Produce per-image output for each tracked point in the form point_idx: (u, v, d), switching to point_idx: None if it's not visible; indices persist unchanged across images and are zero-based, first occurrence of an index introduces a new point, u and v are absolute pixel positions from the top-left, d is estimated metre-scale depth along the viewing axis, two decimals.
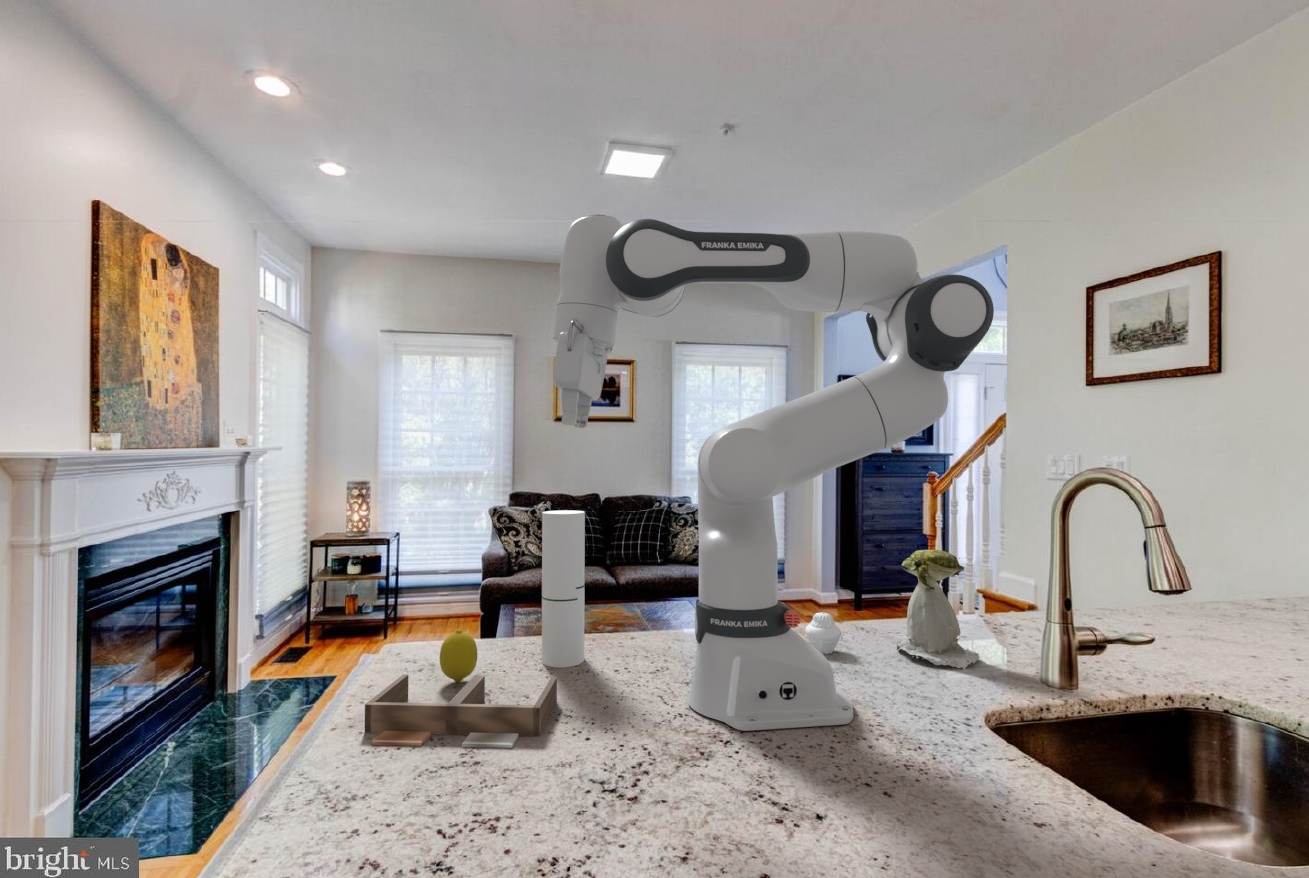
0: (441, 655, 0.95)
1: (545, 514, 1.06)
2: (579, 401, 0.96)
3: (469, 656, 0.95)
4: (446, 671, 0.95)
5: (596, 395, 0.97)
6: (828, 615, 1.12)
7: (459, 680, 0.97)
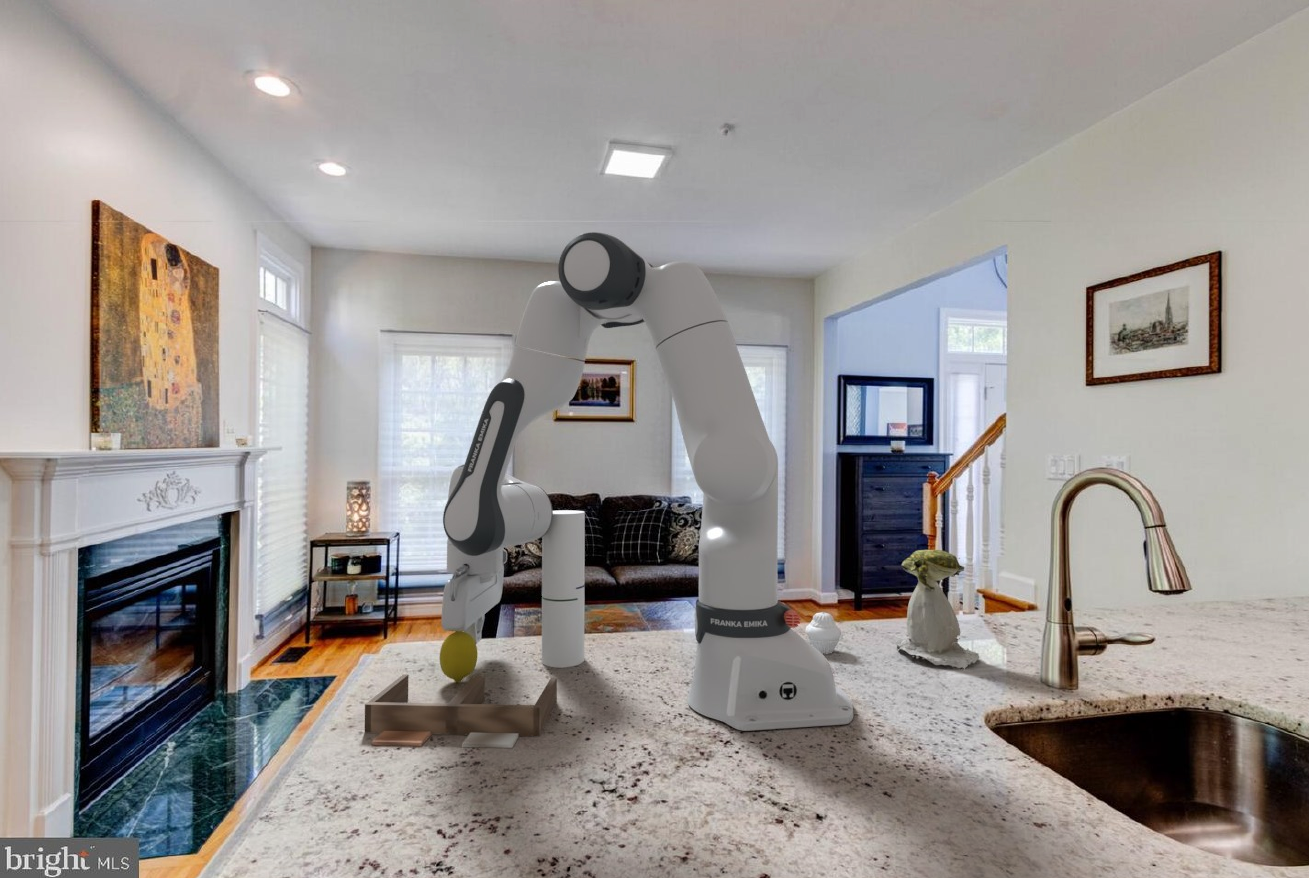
0: (441, 655, 0.95)
1: None
2: None
3: (469, 656, 0.95)
4: (446, 671, 0.95)
5: (494, 603, 1.11)
6: (828, 615, 1.12)
7: (459, 680, 0.97)
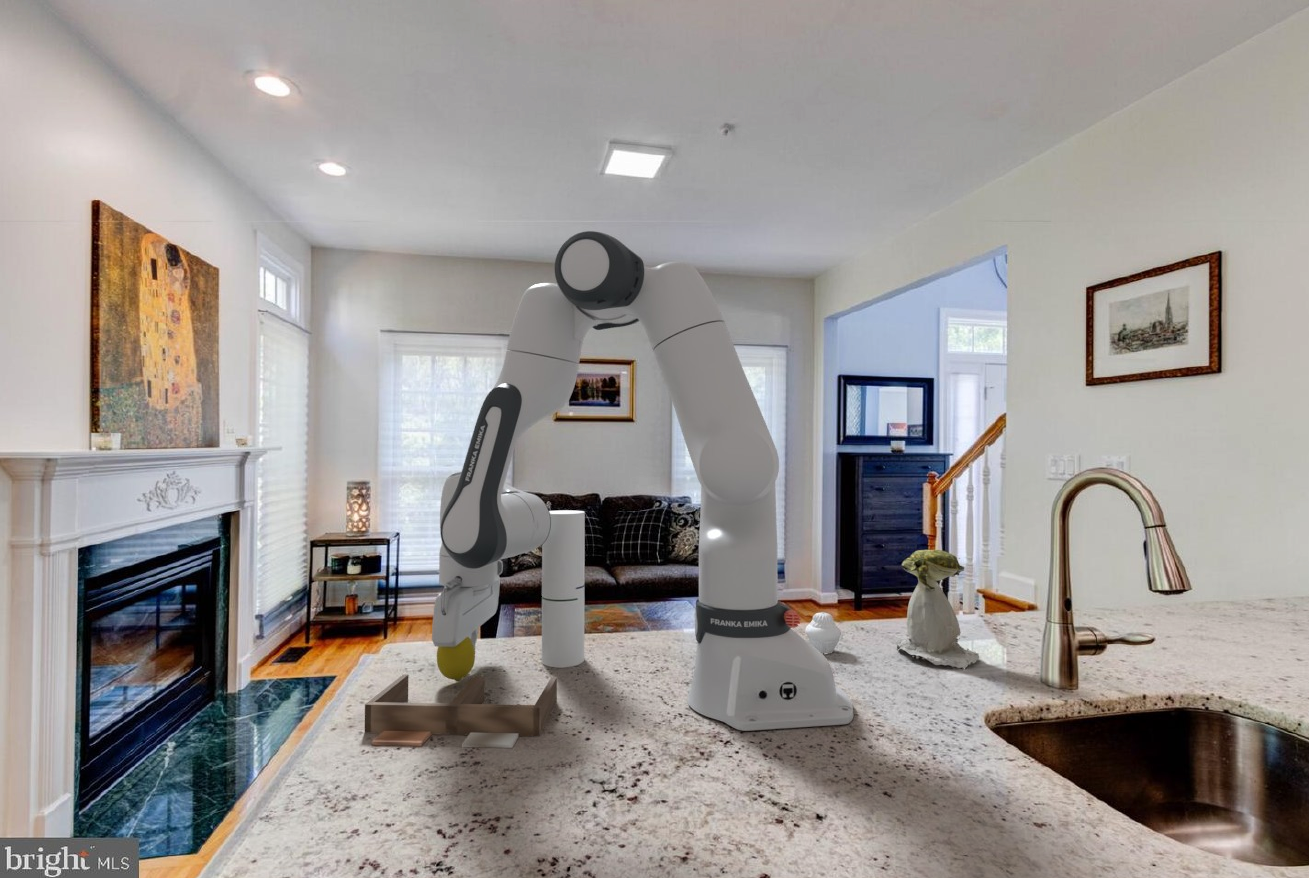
0: (438, 658, 0.95)
1: None
2: None
3: (466, 657, 0.95)
4: (445, 674, 0.95)
5: (490, 616, 1.07)
6: (828, 615, 1.12)
7: (459, 679, 0.96)
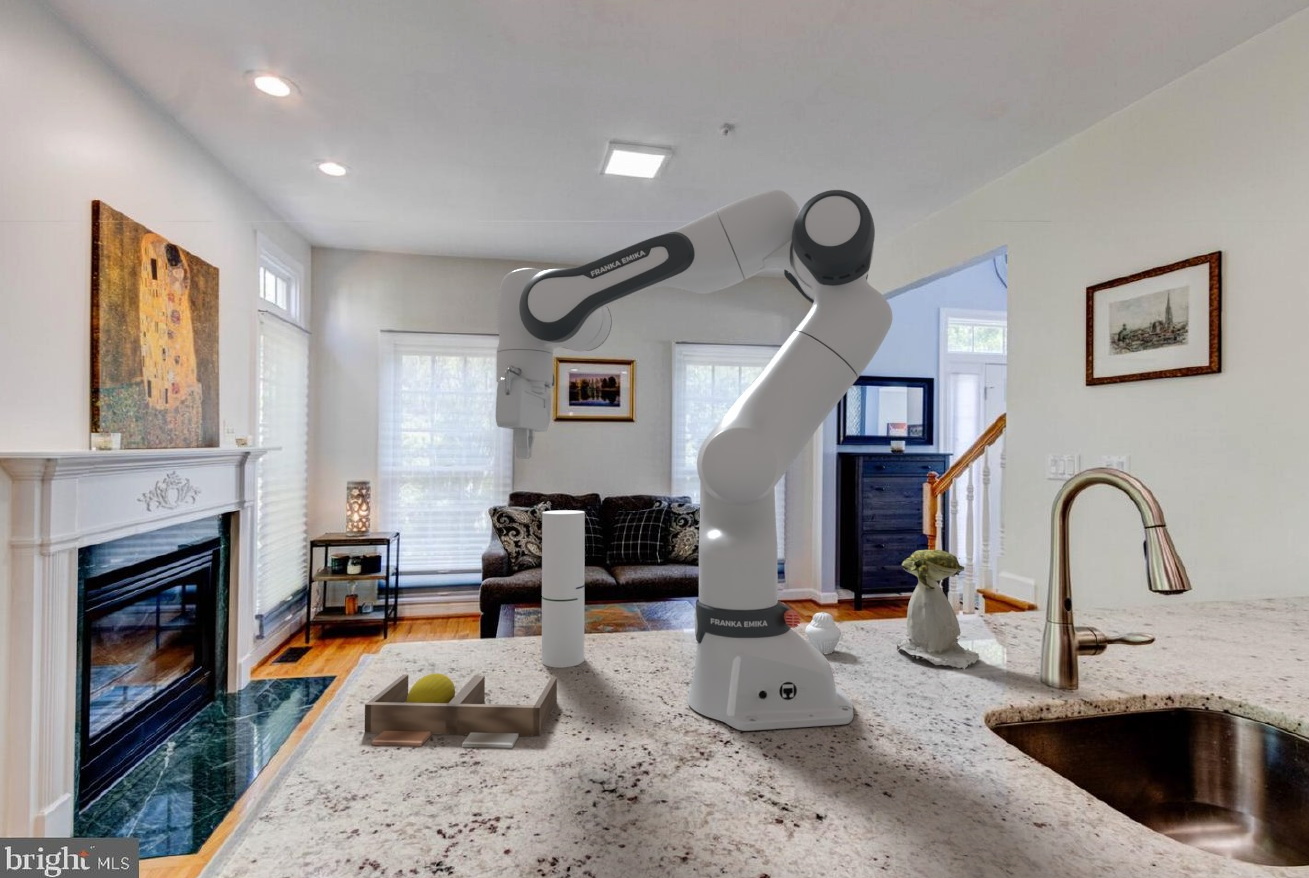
0: None
1: (545, 514, 1.06)
2: None
3: None
4: None
5: (543, 427, 1.07)
6: (828, 615, 1.12)
7: None
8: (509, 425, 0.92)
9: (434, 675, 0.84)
